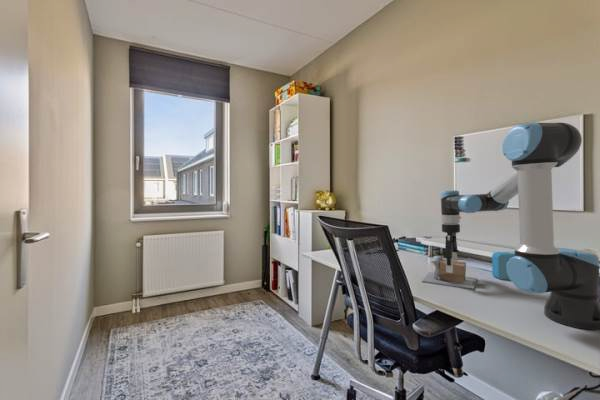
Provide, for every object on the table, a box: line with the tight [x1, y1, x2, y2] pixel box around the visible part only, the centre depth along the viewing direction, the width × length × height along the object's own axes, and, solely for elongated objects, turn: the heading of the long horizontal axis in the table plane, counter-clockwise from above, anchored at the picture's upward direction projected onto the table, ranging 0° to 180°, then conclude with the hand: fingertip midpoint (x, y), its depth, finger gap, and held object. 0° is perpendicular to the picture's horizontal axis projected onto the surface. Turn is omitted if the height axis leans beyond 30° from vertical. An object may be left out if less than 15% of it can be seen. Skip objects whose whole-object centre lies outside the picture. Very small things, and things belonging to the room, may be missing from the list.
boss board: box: [421, 255, 478, 290], centre depth 141 cm, size 16×21×10 cm
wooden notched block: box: [439, 258, 467, 283], centre depth 141 cm, size 7×10×8 cm
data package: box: [491, 251, 515, 281], centre depth 142 cm, size 12×4×12 cm, turn 91°
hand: (451, 268), depth 140 cm, fingers open, 13 cm apart
